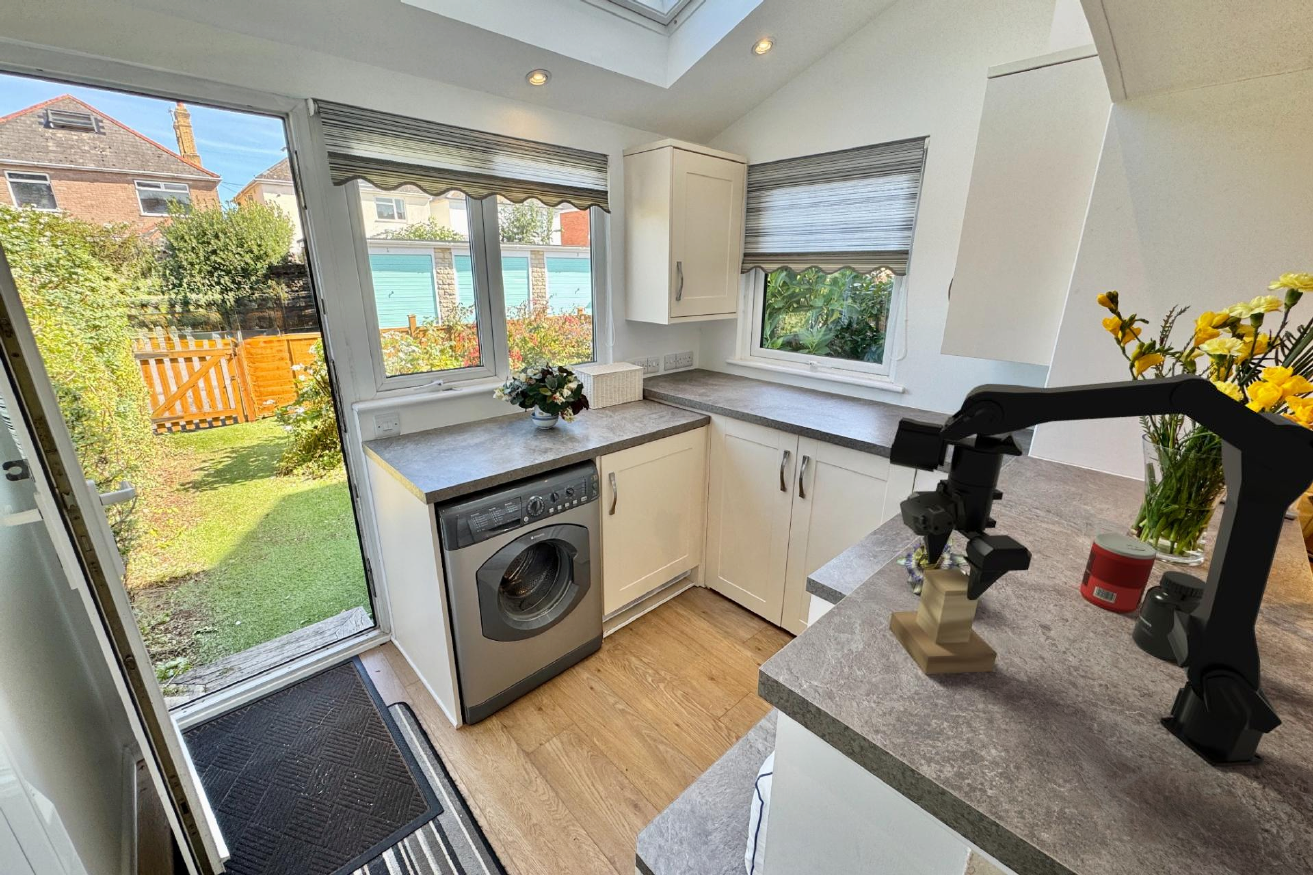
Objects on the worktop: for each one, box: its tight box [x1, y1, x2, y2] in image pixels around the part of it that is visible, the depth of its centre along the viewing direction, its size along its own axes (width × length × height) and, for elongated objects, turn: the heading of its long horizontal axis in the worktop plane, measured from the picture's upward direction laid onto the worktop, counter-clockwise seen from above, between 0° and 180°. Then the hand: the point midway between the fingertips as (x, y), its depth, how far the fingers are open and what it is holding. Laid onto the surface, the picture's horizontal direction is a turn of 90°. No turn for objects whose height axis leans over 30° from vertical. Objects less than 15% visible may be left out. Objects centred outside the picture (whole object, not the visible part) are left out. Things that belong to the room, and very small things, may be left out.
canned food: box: [1079, 533, 1158, 614], centre depth 89 cm, size 8×8×11 cm
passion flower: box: [895, 536, 980, 604], centre depth 92 cm, size 11×11×12 cm
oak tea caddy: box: [916, 569, 979, 644], centre depth 76 cm, size 5×5×9 cm
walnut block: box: [888, 610, 998, 675], centre depth 78 cm, size 10×10×3 cm
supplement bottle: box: [1131, 570, 1206, 663], centre depth 78 cm, size 7×7×12 cm
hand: (950, 580), depth 75 cm, fingers open, 9 cm apart
